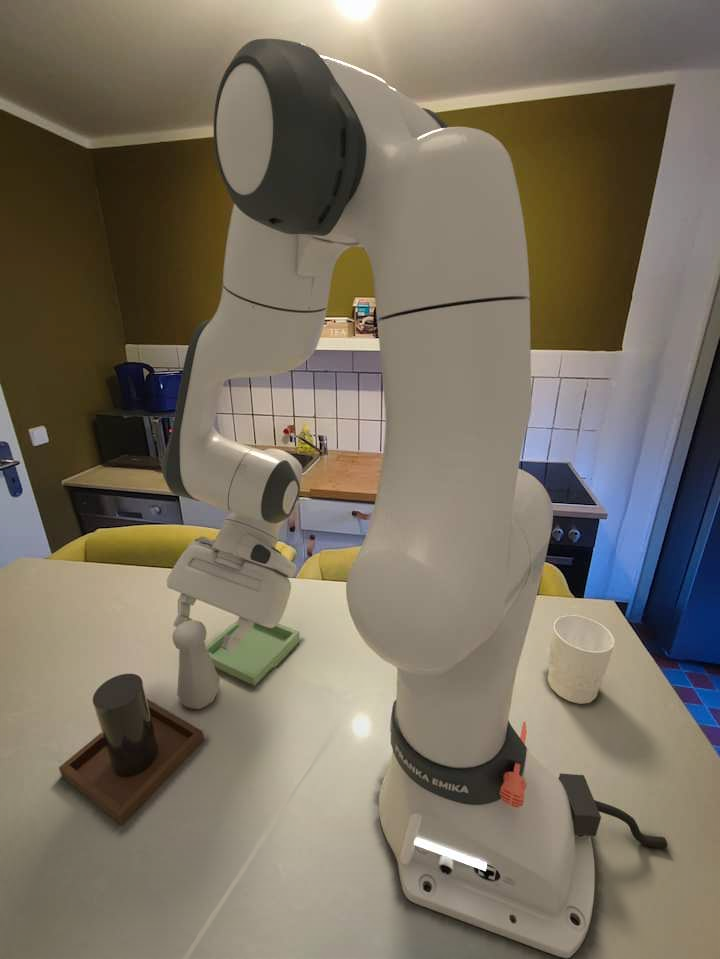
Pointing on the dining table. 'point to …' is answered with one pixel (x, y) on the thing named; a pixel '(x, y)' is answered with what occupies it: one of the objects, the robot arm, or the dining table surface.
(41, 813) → the dining table surface
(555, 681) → the white cup
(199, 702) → the salt shaker
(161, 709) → the dark tray
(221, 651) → the light tray
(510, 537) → the robot arm
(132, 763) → the pepper shaker
